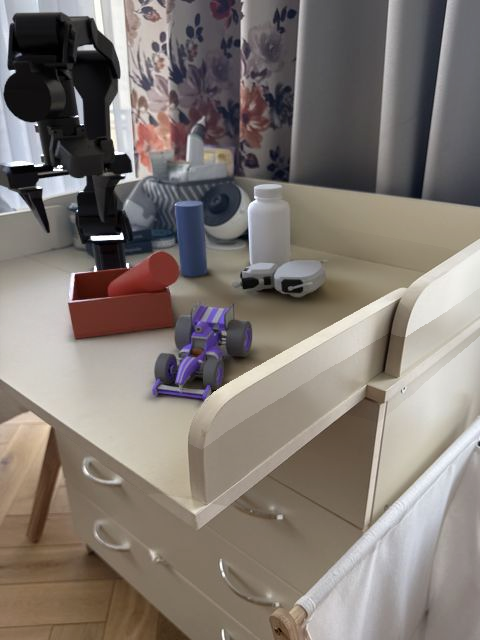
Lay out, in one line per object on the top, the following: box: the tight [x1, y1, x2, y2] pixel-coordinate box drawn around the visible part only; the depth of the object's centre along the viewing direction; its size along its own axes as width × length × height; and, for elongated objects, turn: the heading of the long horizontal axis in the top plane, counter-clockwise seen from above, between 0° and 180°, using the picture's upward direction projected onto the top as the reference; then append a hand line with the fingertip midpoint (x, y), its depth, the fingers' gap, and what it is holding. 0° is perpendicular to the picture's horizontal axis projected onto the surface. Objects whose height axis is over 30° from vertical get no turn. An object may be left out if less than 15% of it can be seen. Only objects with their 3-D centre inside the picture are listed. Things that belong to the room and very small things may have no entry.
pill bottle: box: [247, 183, 291, 267], centre depth 103 cm, size 8×8×15 cm
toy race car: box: [151, 300, 253, 403], centre depth 68 cm, size 10×15×6 cm, turn 165°
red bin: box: [67, 266, 174, 340], centre depth 84 cm, size 13×14×6 cm
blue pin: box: [174, 200, 208, 278], centre depth 100 cm, size 5×5×13 cm
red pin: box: [108, 250, 180, 297], centre depth 81 cm, size 5×5×13 cm
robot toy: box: [231, 259, 329, 299], centre depth 93 cm, size 12×4×15 cm
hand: (76, 227), depth 83 cm, fingers open, 9 cm apart
